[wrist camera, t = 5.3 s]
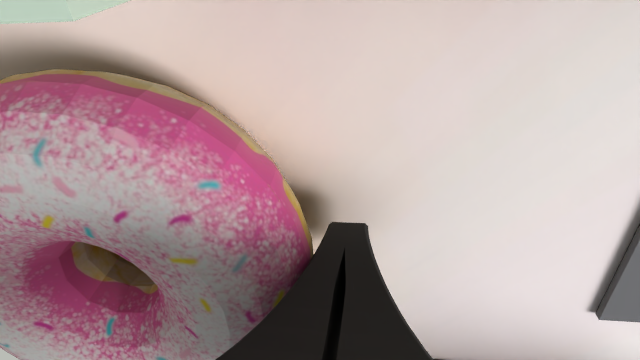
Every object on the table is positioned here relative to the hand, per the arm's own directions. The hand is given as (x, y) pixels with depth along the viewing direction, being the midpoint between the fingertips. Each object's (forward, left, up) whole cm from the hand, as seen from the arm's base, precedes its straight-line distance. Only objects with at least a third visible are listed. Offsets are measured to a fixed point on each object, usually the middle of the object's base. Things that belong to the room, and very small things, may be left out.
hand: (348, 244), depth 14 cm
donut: (0, +8, -2) cm, 8 cm away
